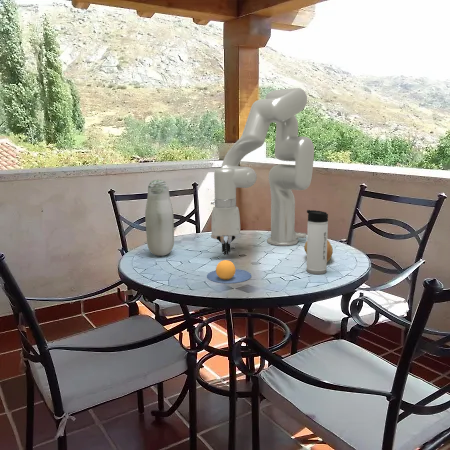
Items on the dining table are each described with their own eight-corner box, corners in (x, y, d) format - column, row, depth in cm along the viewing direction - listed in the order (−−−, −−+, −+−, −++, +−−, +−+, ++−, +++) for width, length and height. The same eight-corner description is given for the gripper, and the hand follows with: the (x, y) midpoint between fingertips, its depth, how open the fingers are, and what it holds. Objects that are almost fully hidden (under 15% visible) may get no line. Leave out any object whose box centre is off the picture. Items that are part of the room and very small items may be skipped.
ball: (234, 257, 133) (235, 276, 130) (235, 263, 138) (235, 281, 136) (215, 257, 133) (215, 276, 131) (216, 263, 139) (216, 282, 136)
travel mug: (304, 268, 144) (305, 208, 140) (324, 268, 144) (326, 208, 140) (306, 274, 138) (308, 212, 134) (328, 274, 138) (330, 211, 134)
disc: (249, 268, 145) (249, 268, 145) (253, 282, 132) (253, 281, 132) (206, 269, 145) (206, 269, 145) (206, 283, 131) (206, 283, 131)
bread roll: (307, 266, 148) (307, 243, 146) (301, 254, 162) (301, 233, 161) (336, 266, 147) (337, 243, 146) (327, 254, 162) (328, 233, 160)
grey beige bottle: (144, 253, 167) (140, 179, 161) (171, 250, 170) (168, 178, 165) (150, 259, 158) (146, 181, 152) (178, 256, 161) (175, 180, 156)
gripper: (204, 205, 151) (205, 257, 155) (247, 204, 152) (247, 256, 155) (204, 202, 158) (205, 251, 162) (245, 201, 159) (245, 250, 163)
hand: (226, 253), depth 159 cm, fingers closed
